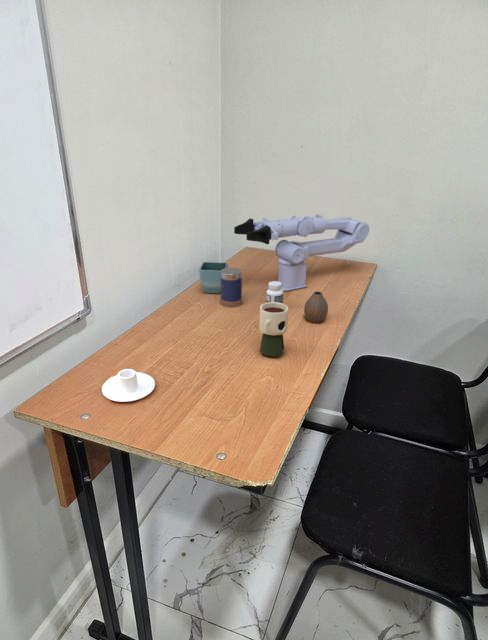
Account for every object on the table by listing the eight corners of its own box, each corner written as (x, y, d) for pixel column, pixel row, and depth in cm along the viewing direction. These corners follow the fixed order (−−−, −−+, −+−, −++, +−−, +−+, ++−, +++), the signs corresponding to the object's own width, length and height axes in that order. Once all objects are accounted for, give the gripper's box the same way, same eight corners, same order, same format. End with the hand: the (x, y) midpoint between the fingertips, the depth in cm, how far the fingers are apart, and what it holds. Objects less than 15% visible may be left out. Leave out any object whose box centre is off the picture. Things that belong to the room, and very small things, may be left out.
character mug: (277, 365, 111) (279, 318, 105) (251, 359, 114) (252, 313, 108) (291, 346, 120) (295, 302, 113) (267, 341, 122) (269, 297, 116)
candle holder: (107, 375, 107) (104, 360, 105) (157, 373, 108) (155, 358, 106) (97, 405, 97) (94, 389, 95) (153, 403, 98) (151, 386, 96)
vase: (329, 317, 136) (332, 290, 131) (323, 326, 130) (326, 299, 126) (307, 313, 138) (309, 287, 134) (300, 322, 133) (302, 295, 128)
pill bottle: (284, 307, 142) (285, 281, 138) (280, 314, 138) (281, 287, 133) (268, 305, 144) (269, 279, 139) (263, 312, 139) (264, 285, 135)
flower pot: (228, 286, 158) (228, 262, 154) (225, 296, 150) (225, 270, 146) (203, 285, 159) (202, 261, 154) (199, 295, 151) (198, 270, 147)
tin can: (235, 297, 149) (235, 266, 144) (245, 304, 144) (245, 272, 139) (217, 301, 147) (217, 269, 141) (226, 308, 141) (226, 275, 136)
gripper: (265, 211, 149) (230, 215, 143) (291, 222, 138) (253, 226, 132) (264, 232, 152) (229, 236, 147) (288, 244, 142) (252, 249, 136)
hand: (240, 233), depth 140 cm, fingers open, 7 cm apart
